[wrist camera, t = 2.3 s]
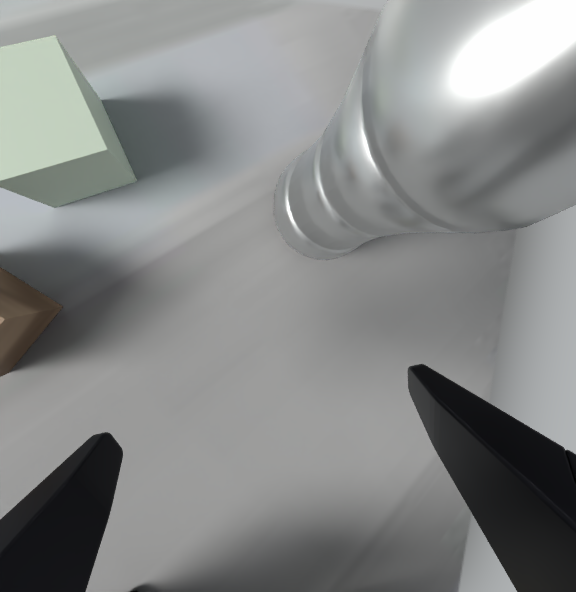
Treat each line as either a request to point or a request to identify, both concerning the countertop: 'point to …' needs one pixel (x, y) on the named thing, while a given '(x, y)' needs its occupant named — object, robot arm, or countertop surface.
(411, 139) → the plastic bottle
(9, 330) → the walnut block
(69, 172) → the sage block
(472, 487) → the robot arm
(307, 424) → the countertop surface
